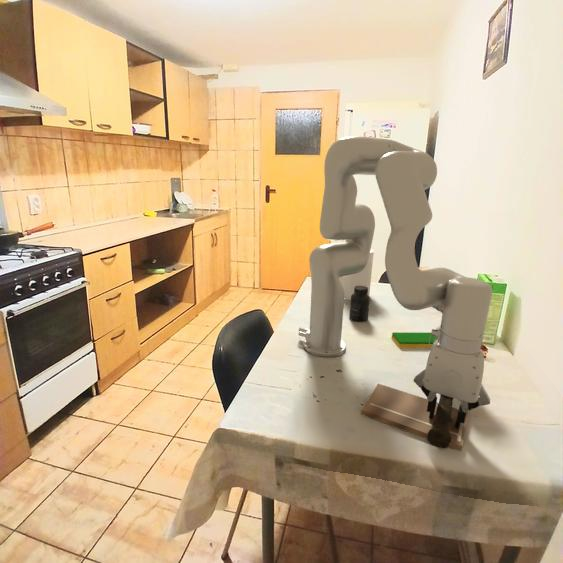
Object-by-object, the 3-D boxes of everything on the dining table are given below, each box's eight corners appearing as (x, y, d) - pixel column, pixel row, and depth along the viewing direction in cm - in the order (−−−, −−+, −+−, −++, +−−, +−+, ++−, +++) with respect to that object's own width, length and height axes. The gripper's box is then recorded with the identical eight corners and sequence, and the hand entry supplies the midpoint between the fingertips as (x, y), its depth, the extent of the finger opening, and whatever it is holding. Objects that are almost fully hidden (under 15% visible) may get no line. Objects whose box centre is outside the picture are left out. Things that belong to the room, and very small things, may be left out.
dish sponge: (391, 338, 115) (391, 332, 114) (432, 338, 115) (433, 332, 115) (398, 349, 108) (399, 342, 107) (443, 349, 108) (444, 342, 108)
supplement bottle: (371, 321, 127) (375, 289, 123) (355, 323, 125) (358, 291, 121) (361, 314, 133) (363, 283, 129) (345, 316, 131) (347, 285, 127)
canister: (339, 299, 148) (343, 252, 142) (336, 289, 160) (339, 246, 155) (372, 300, 147) (377, 253, 141) (365, 290, 160) (370, 247, 154)
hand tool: (448, 453, 66) (452, 432, 64) (425, 444, 68) (429, 424, 66) (460, 401, 81) (463, 384, 80) (441, 395, 83) (444, 378, 82)
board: (361, 414, 78) (361, 409, 77) (377, 387, 88) (378, 383, 87) (461, 451, 68) (462, 446, 67) (467, 416, 78) (468, 411, 77)
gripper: (410, 337, 70) (399, 414, 75) (510, 361, 62) (489, 447, 67) (418, 324, 76) (407, 397, 82) (510, 344, 68) (491, 424, 73)
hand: (444, 418), depth 74 cm, fingers open, 4 cm apart
